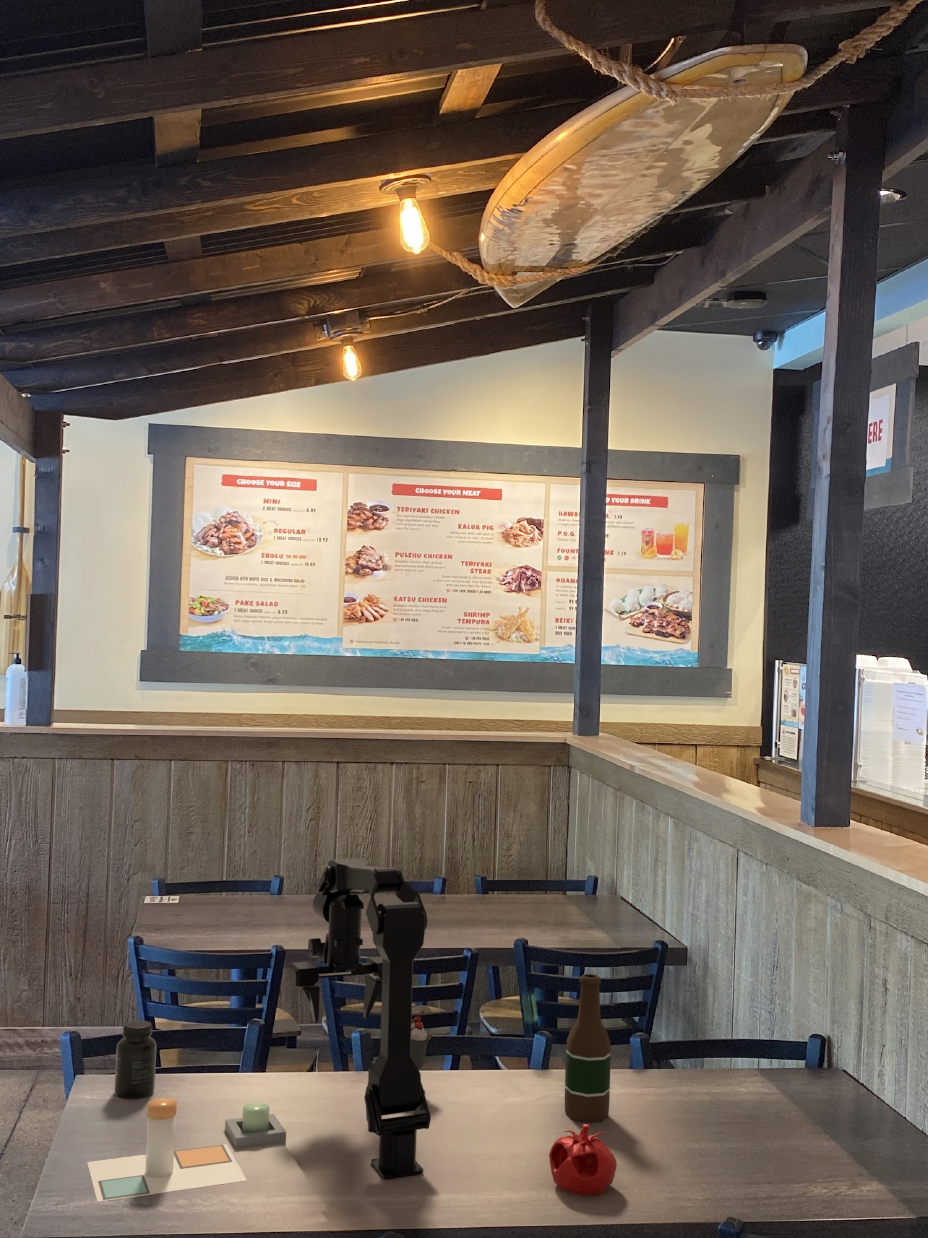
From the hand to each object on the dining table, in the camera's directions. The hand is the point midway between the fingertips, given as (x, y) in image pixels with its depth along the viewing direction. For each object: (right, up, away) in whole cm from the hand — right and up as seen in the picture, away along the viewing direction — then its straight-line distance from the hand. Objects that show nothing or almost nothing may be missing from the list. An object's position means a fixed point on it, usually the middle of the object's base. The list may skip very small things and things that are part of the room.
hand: (340, 1020), depth 204 cm
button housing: (-12, -13, -18) cm, 25 cm away
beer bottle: (+43, -16, -2) cm, 46 cm away
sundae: (+12, -16, +7) cm, 21 cm away
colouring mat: (-23, -12, -32) cm, 41 cm away
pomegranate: (+39, -15, -30) cm, 52 cm away
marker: (-23, -11, -33) cm, 42 cm away
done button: (-12, -12, -18) cm, 24 cm away
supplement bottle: (-37, -14, +2) cm, 39 cm away
